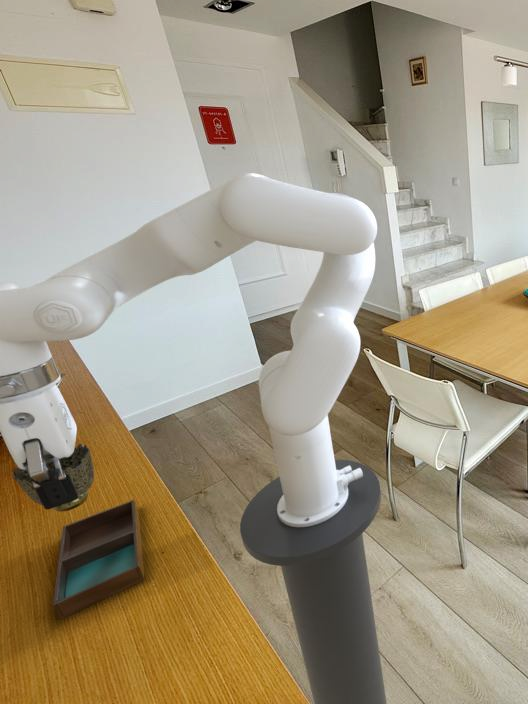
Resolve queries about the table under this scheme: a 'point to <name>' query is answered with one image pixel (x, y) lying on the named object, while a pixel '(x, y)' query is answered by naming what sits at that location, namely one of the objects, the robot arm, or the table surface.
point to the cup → (74, 465)
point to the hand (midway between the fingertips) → (64, 486)
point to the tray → (98, 558)
